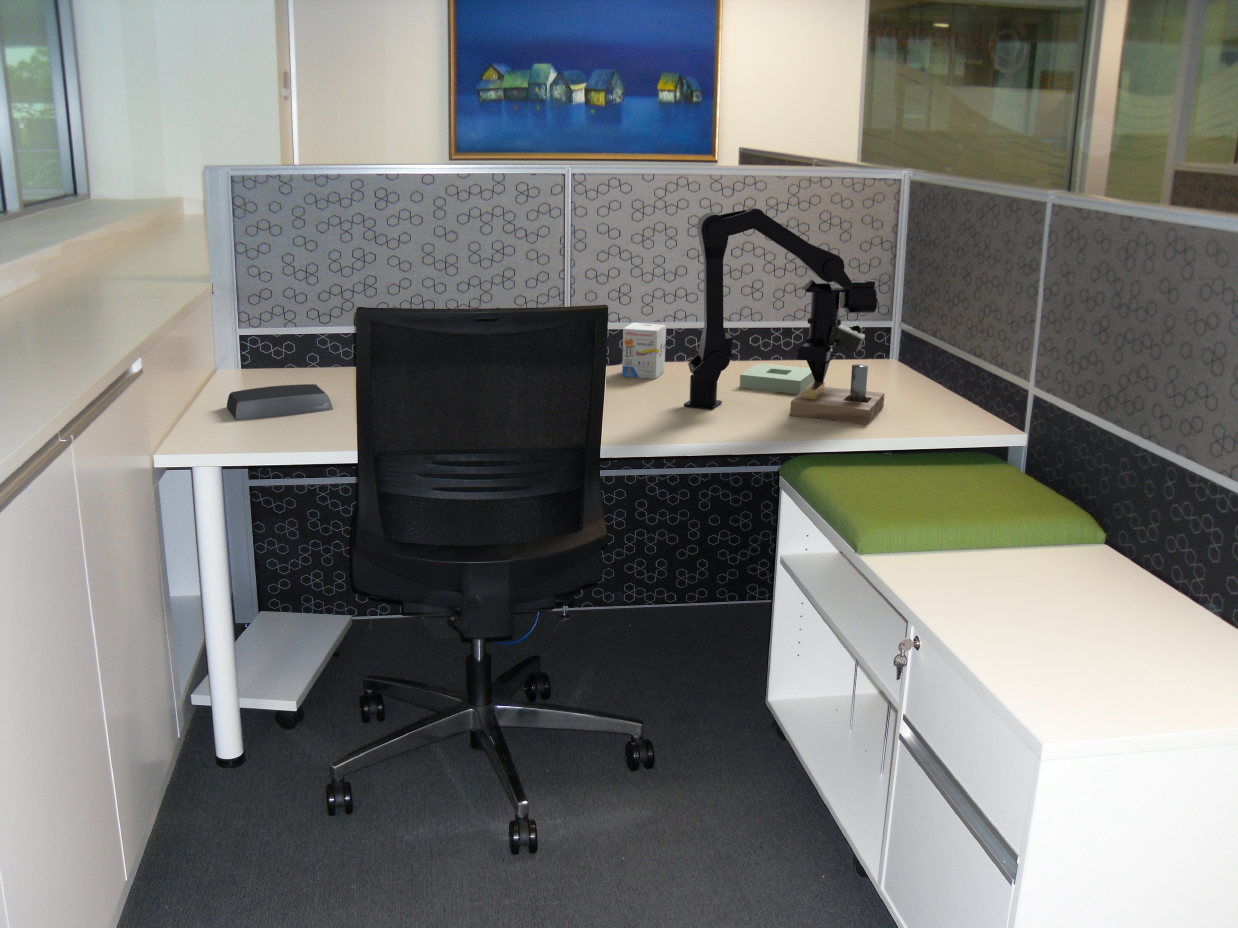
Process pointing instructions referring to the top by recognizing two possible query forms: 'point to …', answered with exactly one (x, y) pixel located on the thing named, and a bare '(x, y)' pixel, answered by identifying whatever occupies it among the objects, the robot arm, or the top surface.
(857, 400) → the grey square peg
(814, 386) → the yellow wooden bar
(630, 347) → the ink box
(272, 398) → the external hard drive
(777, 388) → the green slotted base
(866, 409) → the socket block
